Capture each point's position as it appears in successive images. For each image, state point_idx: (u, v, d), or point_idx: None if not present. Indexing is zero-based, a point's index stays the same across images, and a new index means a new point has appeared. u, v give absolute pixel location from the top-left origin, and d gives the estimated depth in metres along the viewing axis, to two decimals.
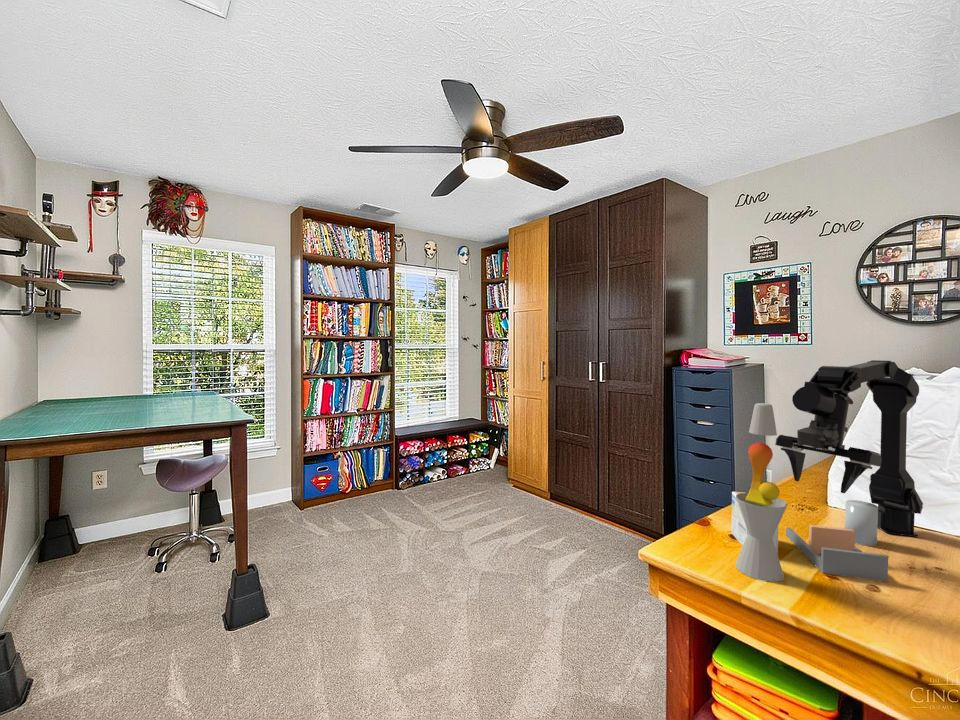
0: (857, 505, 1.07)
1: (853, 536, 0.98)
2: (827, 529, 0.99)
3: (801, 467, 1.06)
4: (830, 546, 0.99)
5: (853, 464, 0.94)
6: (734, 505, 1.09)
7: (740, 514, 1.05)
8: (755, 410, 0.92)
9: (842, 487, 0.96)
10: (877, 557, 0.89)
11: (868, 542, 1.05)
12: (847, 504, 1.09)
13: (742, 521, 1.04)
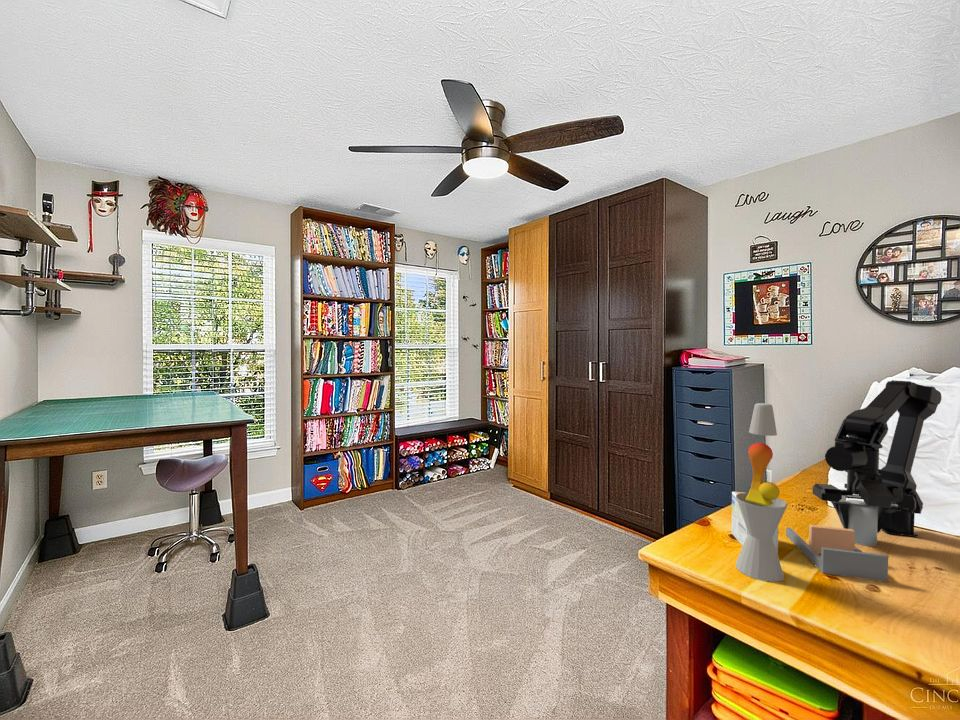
0: (857, 505, 1.07)
1: (853, 536, 0.98)
2: (827, 529, 0.99)
3: None
4: (830, 546, 0.99)
5: (895, 510, 1.04)
6: (734, 505, 1.09)
7: (740, 514, 1.05)
8: (755, 410, 0.92)
9: (879, 528, 1.06)
10: (877, 557, 0.89)
11: (868, 542, 1.05)
12: None
13: (742, 521, 1.04)
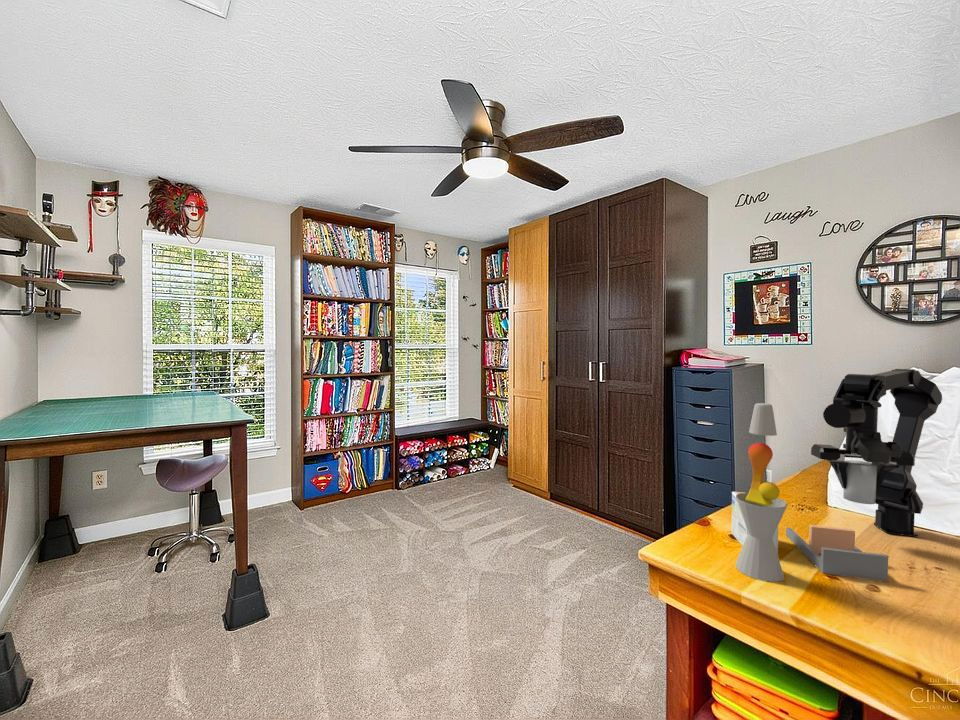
0: (856, 464, 1.07)
1: (853, 536, 0.98)
2: (827, 529, 0.99)
3: None
4: (830, 546, 0.99)
5: (893, 467, 1.04)
6: (734, 505, 1.09)
7: (740, 514, 1.05)
8: (755, 410, 0.92)
9: (877, 487, 1.06)
10: (877, 557, 0.89)
11: (866, 500, 1.05)
12: None
13: (742, 521, 1.04)
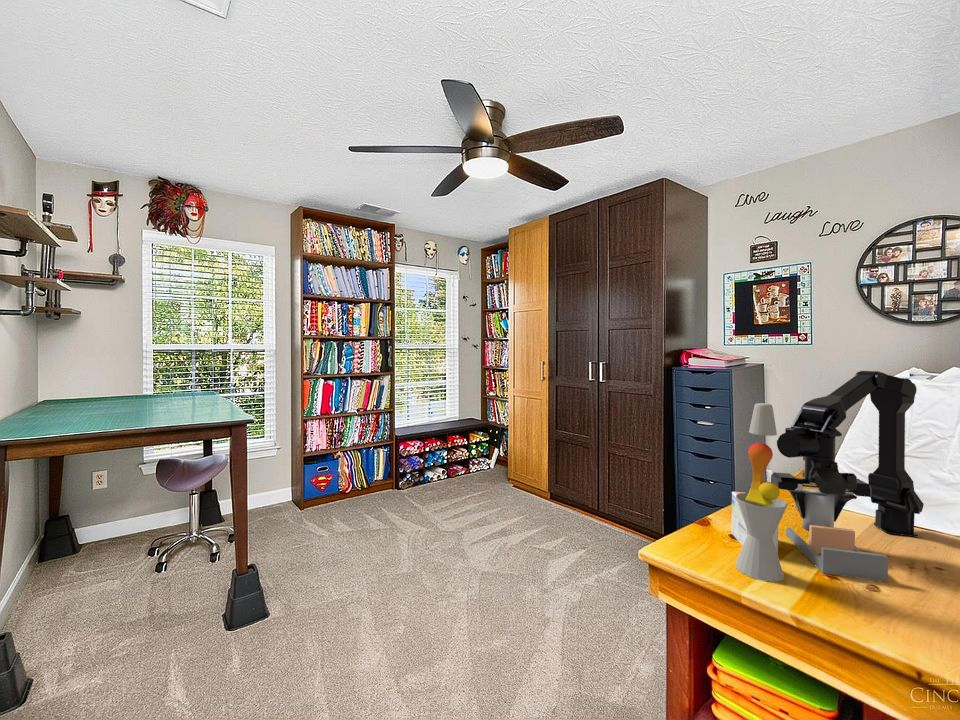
0: (814, 493, 1.05)
1: (853, 536, 0.98)
2: (827, 529, 0.99)
3: None
4: (830, 546, 0.99)
5: (851, 498, 1.02)
6: (734, 505, 1.09)
7: (740, 514, 1.05)
8: (755, 410, 0.92)
9: (835, 517, 1.05)
10: (877, 557, 0.89)
11: None
12: None
13: (742, 521, 1.04)
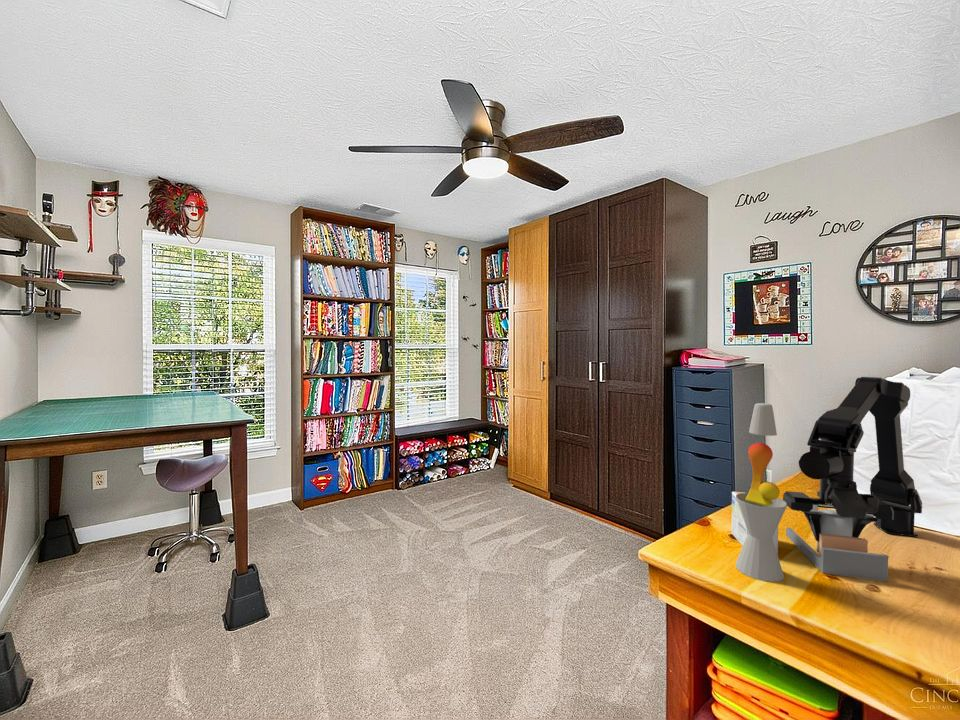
0: (830, 515, 0.97)
1: (866, 546, 0.93)
2: (838, 538, 0.95)
3: None
4: None
5: (871, 521, 0.94)
6: (734, 505, 1.09)
7: (740, 514, 1.05)
8: (755, 410, 0.92)
9: None
10: (877, 557, 0.89)
11: None
12: None
13: (742, 521, 1.04)
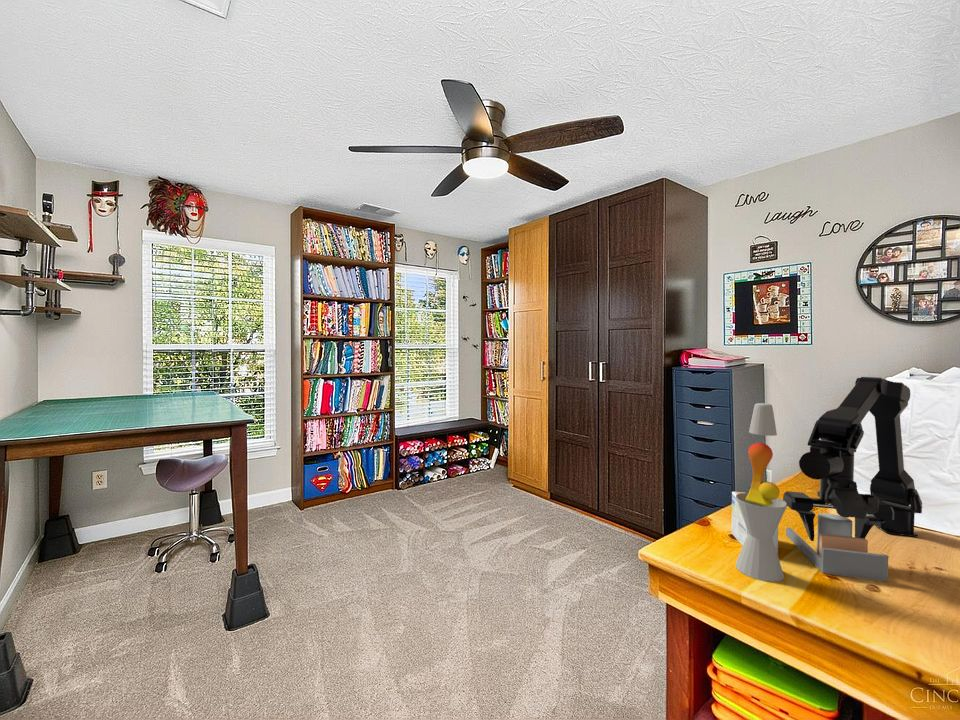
0: (830, 519, 0.97)
1: (866, 546, 0.93)
2: (838, 538, 0.94)
3: None
4: None
5: (878, 522, 0.94)
6: (734, 505, 1.09)
7: (740, 514, 1.05)
8: (755, 410, 0.92)
9: None
10: (877, 557, 0.89)
11: None
12: (819, 518, 0.99)
13: (742, 521, 1.04)
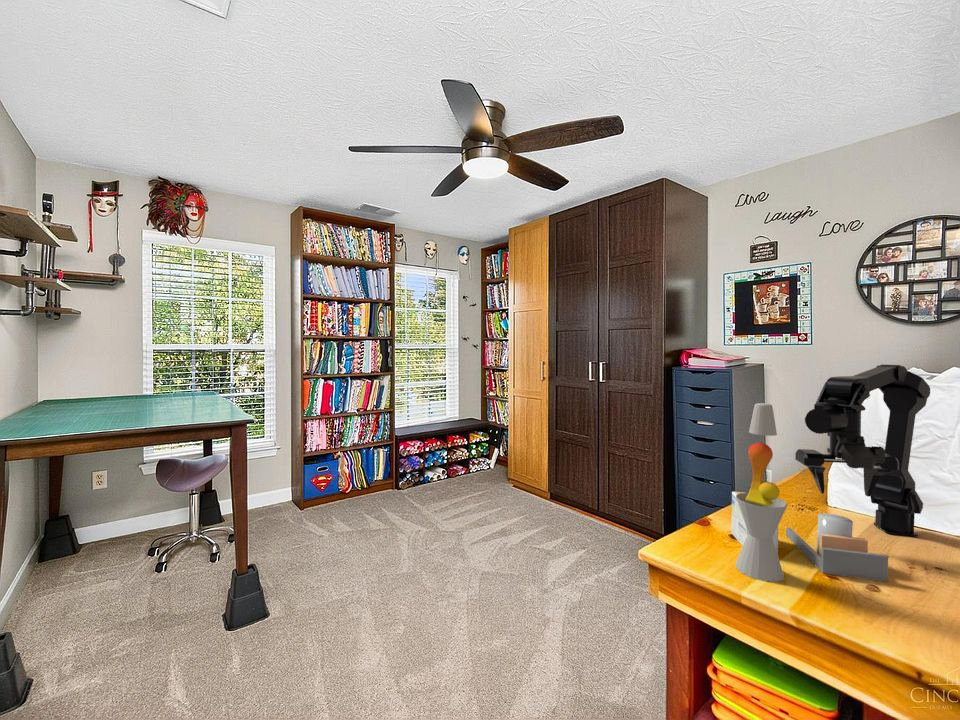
0: (830, 520, 0.97)
1: (866, 546, 0.93)
2: (838, 538, 0.94)
3: None
4: None
5: (885, 472, 1.01)
6: (734, 505, 1.09)
7: (740, 514, 1.05)
8: (755, 410, 0.92)
9: (869, 492, 1.04)
10: (877, 557, 0.89)
11: None
12: (819, 518, 0.99)
13: (742, 521, 1.04)
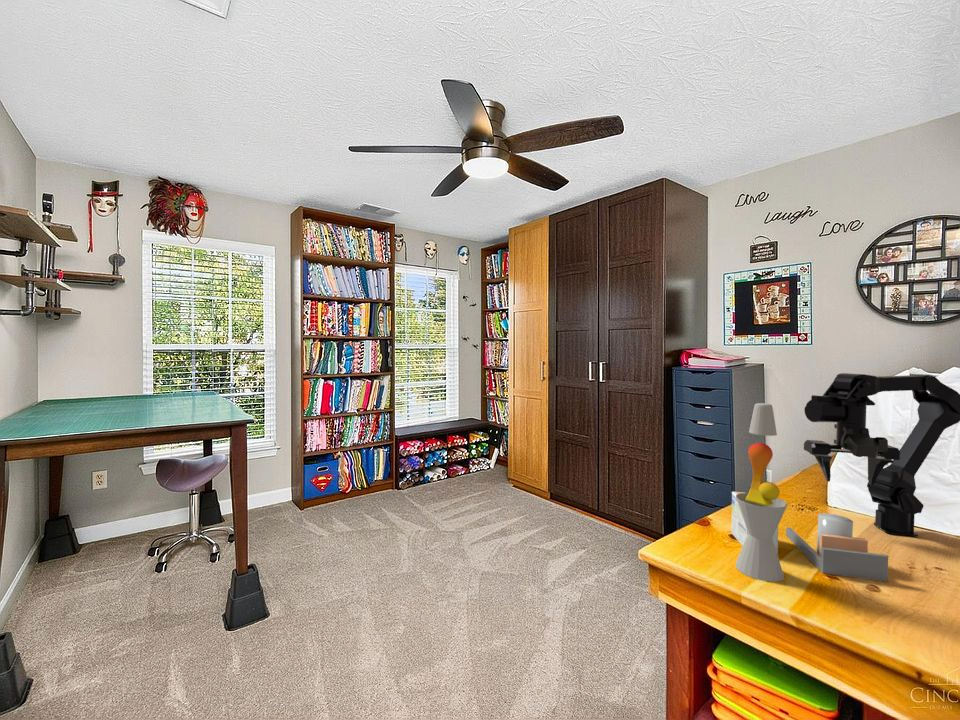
0: (830, 519, 0.97)
1: (866, 546, 0.93)
2: (838, 538, 0.94)
3: None
4: None
5: (888, 462, 1.09)
6: (734, 505, 1.09)
7: (740, 514, 1.05)
8: (755, 410, 0.92)
9: (873, 480, 1.12)
10: (877, 557, 0.89)
11: None
12: (820, 518, 0.99)
13: (742, 521, 1.04)
